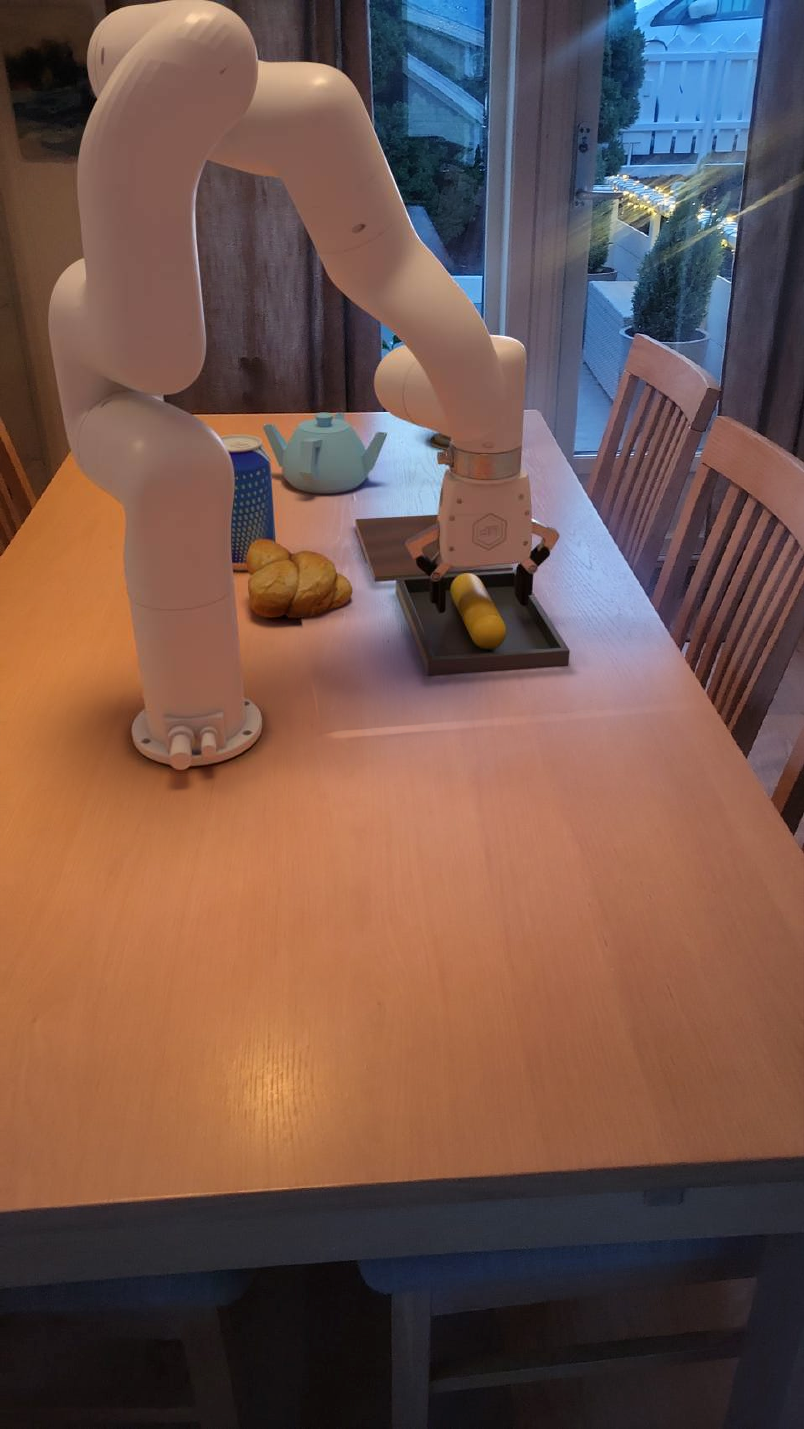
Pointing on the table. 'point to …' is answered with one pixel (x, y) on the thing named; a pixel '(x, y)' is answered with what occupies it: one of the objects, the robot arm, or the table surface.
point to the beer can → (249, 496)
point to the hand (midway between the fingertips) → (480, 604)
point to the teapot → (324, 454)
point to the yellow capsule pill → (478, 611)
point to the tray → (451, 643)
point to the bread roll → (292, 581)
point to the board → (402, 547)
